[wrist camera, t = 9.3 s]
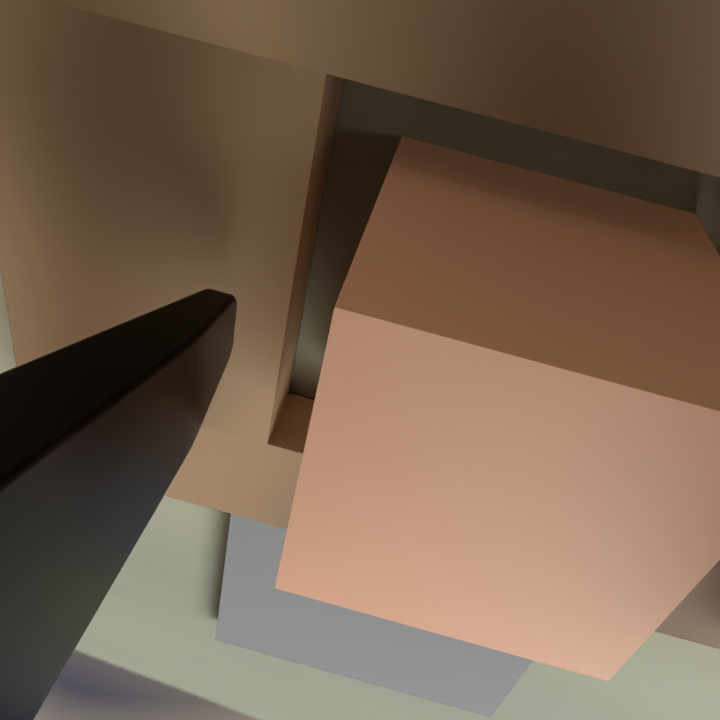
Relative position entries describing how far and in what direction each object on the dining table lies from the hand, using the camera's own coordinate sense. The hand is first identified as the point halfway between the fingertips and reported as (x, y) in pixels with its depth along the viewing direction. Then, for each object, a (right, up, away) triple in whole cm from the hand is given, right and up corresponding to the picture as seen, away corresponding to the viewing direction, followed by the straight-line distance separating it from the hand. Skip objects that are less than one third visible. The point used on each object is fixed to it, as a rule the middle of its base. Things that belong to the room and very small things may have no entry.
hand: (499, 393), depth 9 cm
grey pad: (-1, -6, +8) cm, 10 cm away
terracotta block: (0, +2, +2) cm, 3 cm away
